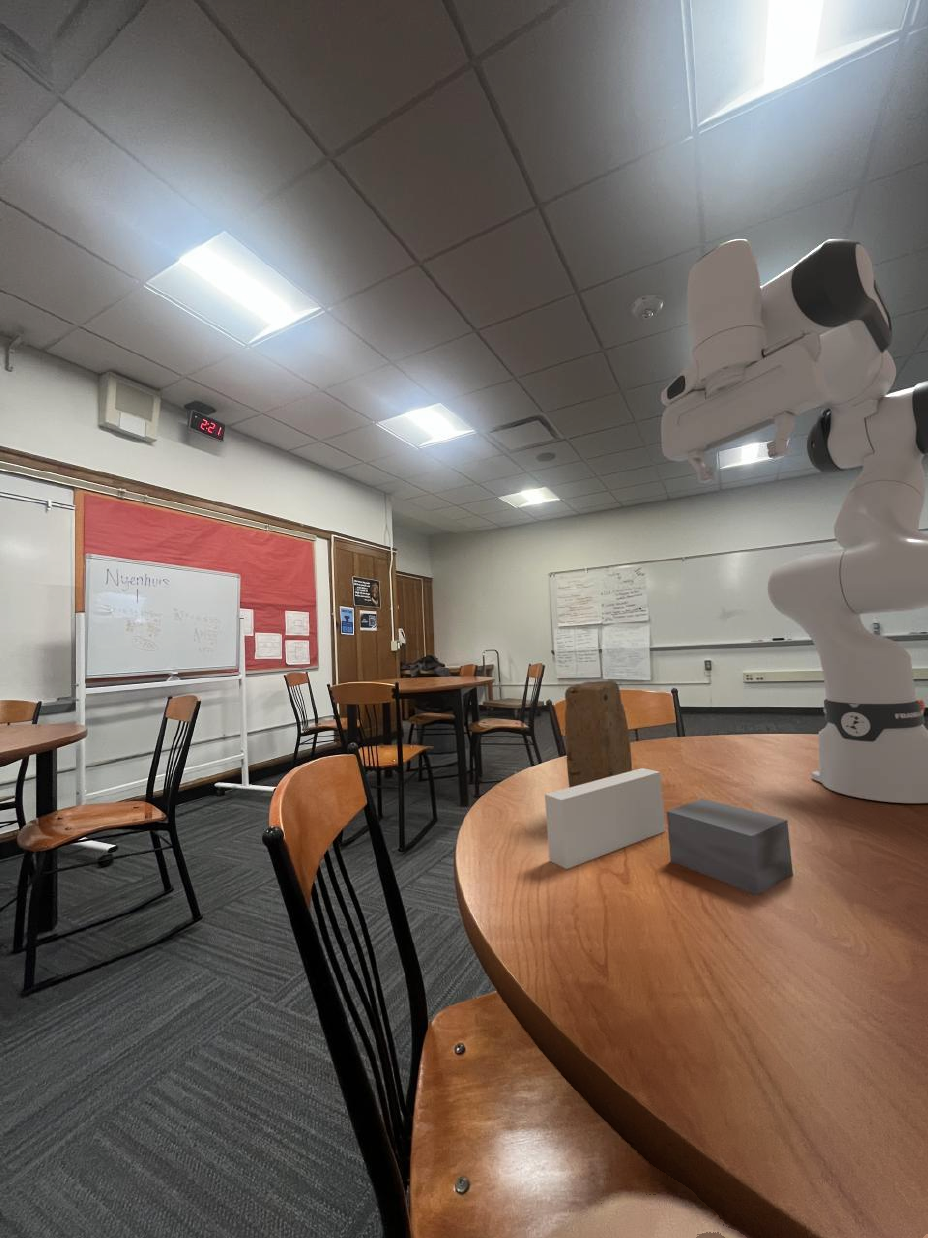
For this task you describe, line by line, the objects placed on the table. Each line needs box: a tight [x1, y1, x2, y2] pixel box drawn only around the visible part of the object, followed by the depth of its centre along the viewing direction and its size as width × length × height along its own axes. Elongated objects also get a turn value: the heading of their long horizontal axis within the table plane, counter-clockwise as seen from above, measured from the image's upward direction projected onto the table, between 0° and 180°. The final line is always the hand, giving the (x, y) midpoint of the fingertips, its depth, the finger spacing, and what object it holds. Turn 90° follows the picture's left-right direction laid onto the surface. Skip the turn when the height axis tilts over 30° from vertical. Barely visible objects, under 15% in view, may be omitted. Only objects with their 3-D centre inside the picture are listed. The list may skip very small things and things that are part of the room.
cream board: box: [544, 767, 666, 870], centre depth 63 cm, size 18×3×8 cm, turn 121°
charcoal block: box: [666, 798, 794, 896], centre depth 55 cm, size 7×10×6 cm
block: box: [564, 680, 633, 788], centre depth 77 cm, size 11×8×20 cm
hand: (740, 469), depth 64 cm, fingers open, 8 cm apart
